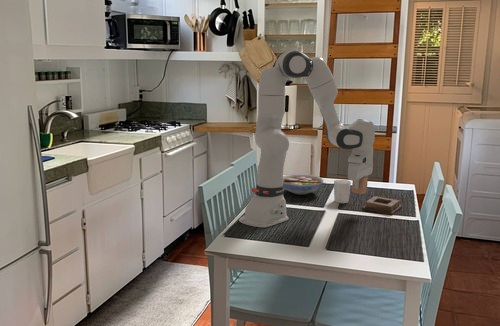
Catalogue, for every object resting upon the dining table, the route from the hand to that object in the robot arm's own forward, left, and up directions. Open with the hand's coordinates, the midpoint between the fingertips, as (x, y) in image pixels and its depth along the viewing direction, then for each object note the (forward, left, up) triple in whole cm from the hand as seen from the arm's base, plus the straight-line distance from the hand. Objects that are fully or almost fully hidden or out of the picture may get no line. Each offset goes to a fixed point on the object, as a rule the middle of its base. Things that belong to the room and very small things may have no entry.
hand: (359, 186), depth 211 cm
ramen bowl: (+13, +37, -12) cm, 41 cm away
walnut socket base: (+13, -6, -12) cm, 19 cm away
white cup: (+12, +14, -12) cm, 22 cm away
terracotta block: (0, 0, -2) cm, 2 cm away
